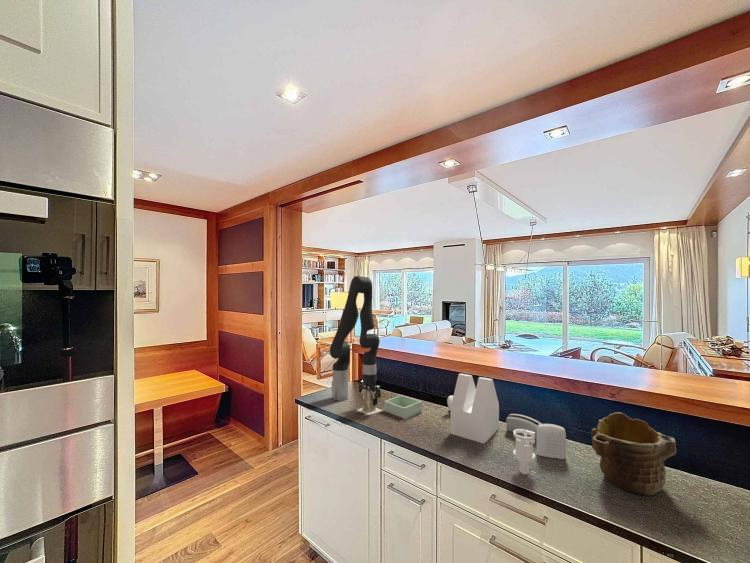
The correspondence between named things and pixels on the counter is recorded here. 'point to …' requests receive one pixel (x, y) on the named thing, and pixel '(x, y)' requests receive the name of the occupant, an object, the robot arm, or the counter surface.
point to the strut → (368, 400)
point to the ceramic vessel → (632, 453)
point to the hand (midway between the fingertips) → (369, 403)
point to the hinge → (522, 423)
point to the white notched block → (474, 409)
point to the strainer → (524, 449)
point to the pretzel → (450, 401)
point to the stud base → (368, 412)
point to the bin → (403, 407)
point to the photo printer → (551, 441)
